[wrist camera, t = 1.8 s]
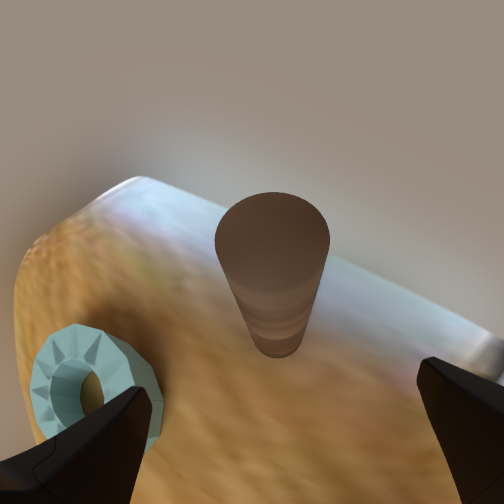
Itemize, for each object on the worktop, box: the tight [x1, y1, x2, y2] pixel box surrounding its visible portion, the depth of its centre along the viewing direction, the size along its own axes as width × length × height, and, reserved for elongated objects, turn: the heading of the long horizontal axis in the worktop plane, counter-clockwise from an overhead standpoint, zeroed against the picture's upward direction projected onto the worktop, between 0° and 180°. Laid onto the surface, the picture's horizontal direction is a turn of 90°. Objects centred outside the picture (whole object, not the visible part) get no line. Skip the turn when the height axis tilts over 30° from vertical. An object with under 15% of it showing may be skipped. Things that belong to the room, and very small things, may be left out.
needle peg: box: [215, 192, 330, 358], centre depth 14 cm, size 4×4×13 cm
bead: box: [30, 323, 164, 453], centre depth 16 cm, size 11×11×4 cm
